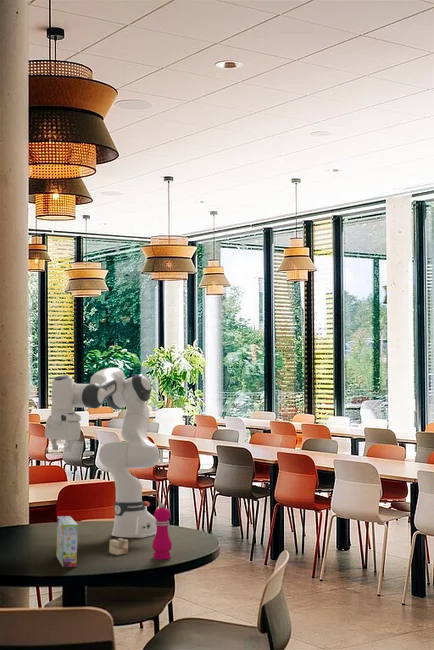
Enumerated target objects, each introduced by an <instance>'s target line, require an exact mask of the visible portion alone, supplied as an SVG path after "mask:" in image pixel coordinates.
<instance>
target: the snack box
mask: <svg viewBox="0 0 434 650" xmlns="http://www.w3.org/2000/svg"><path fill="white" fill-rule="evenodd" d="M78 532H79V524H78V523H77V522H76V521H75V520H74V519H73V517H72V516H71V515H65V516H64V515H61V516H60V515H59V516H57V519H56V550H55V551H56V553H55V554H56V555H55V556H56V558H57V560H58V561H59V563H60V565H61V567H62V568H76V567H77V561H78V560H77V559H78V557H77V555H78V536H79V533H78Z"/></svg>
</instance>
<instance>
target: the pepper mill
mask: <svg viewBox="0 0 434 650" xmlns="http://www.w3.org/2000/svg"><path fill="white" fill-rule="evenodd" d="M165 506H166V505H165V503H160V505H159V507H158V508H156V509H155V511H154V513H153V516H154V517H155V519H156V520H157V521H156V525H157V532H156V535H154V538H153V541H152V545H151V547H152V550H153V551H154V552H153V559H155V560H168V559H170V558H171V552H170V550H171V549H172V546H173V544H172V540H171V538H170V535H169V532H168V531H169V529H168V528H169V526H170V523H169V522H170V521H169V520H170V518H171V511H170V509H168V508H167V507H165Z"/></svg>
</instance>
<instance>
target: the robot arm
mask: <svg viewBox="0 0 434 650" xmlns="http://www.w3.org/2000/svg"><path fill="white" fill-rule="evenodd" d="M151 393H152V383H151V380H150V379H149V378H148V376H146V375H145V374H144V373H143V374H142V373H139V374H135V375H133V376H132V377H129V378H126V375H125V372H124V371H123V369H120V368H118V367H107V368H102V369H101V370H97V371H96V372H95V373H93V374H92V376H91V377H90V382H89V383H77V382H75V381H74V379H73V376H71V375H67V374H66V375H57V376H55V377H54V378H53V379H52V384H51V402H52V403H51V404H52V405H51V407H50V415H49V416H48V418H47V420H46V423H45V427H44V428H45V429H44V437H45V439H49V440H50V444H51V446H52V451H59V445H58V444H57V441H58V440H60V441H61V440H62V441H66V443H67V446H65V452H67V453H71V452H72V448H73V445H74V441H75V442H76V441H79V440H80V438H81V423H80V421H81V420H82V418H81V415H80V414H79V413H77V412H76V411H74V408H83V409H84V408H86V409H87V408H89V409H98V408H100V407H101V406H102V405H103V403H104V402H105V401H106V403H107V405H108V406H109V408H111V409H112V410H115V411H116V410H118V411H119V410H122V409H124V408H126V412H125V416H124V419H123V424H122V427H121V433H120V434H121V437H122V438H123V440H124V441H112V442H107V443H104V444H103V445H102V446H101V447H100V449H99V453H98V457H99V459H98V460H99V461H100V464H102V465H103V466H104V467H105V468H106V470H108V471H109V473H110V475H112V477H113V478H112V479H113V480H114V485H115V486H114V487H115V501H114V520H113V522H114V523H113V527H112V531H111V536H114V537H118V538H139V539H140V538H146V537H148V538H149V537H151V536H155V535H156V532H157V525H156V521H157V520H156V519H155V517H154V514H151V513H150V512H149V511H148V510H146V508H147V507H149V506H150V502H149V501H144V500H143V499H142V498H143V484H142V482H141V480H140V479H139V478H138V477H136V476H134V475H132V474H131V473H130V471H129V469H149V468H153V467H156V465H157V464H158V463H159V460H160V456H161V455H160V449H159V448H158V446H157V445H156V444H155V443H153V442H151V441H150V440H149V438H148V430H149V424H150V423H149V422H150V408H149V406H148V405H147V404H146V402H148V401H149V399H150V395H151Z"/></svg>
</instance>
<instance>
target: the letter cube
mask: <svg viewBox="0 0 434 650" xmlns="http://www.w3.org/2000/svg"><path fill="white" fill-rule="evenodd" d="M108 548H109V551H108V552H109V554H112V555H116V556H119V555H125V554H128V553H129V540H128V539H124V538H122V537H118V538H113V539H109V547H108Z"/></svg>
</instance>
